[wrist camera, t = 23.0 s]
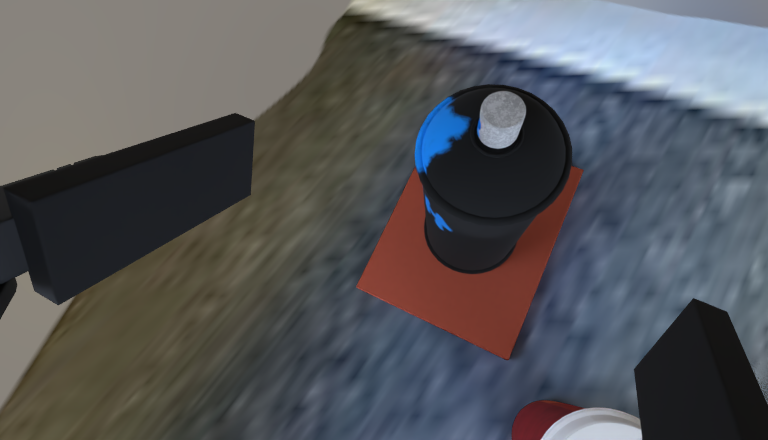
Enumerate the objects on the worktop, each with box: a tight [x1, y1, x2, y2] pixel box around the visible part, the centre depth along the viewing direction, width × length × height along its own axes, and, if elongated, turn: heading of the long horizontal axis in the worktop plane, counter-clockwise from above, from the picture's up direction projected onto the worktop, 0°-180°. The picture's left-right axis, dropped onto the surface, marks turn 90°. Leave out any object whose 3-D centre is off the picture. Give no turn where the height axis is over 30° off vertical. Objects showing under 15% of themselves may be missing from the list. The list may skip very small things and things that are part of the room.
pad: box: [357, 166, 583, 360], centre depth 38 cm, size 14×18×1 cm
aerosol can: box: [415, 84, 572, 274], centre depth 28 cm, size 8×8×20 cm
